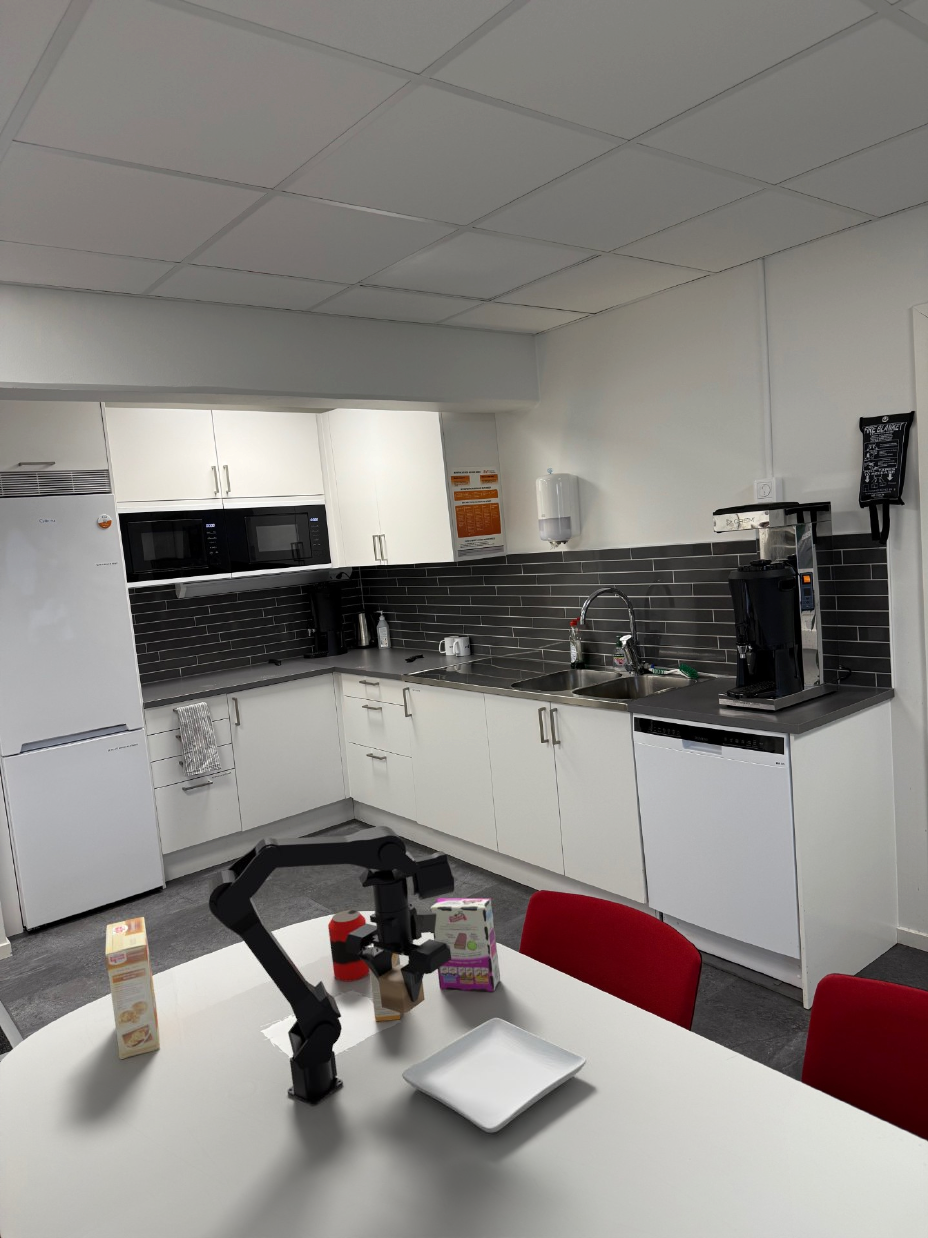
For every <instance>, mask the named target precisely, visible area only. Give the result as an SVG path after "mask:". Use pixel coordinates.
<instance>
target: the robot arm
mask: <svg viewBox="0 0 928 1238" xmlns="http://www.w3.org/2000/svg"><path fill="white" fill-rule="evenodd" d="M404 842H405V841H403V840H402V838H400V836H399V835H398V833H396V832H395V831H394V829H392V828H391V827H389V826H386V825H379V826H375V827H374V826H373V827H369V828H365V829H361V830H358V831H356V832H354V833H351V834H347V835H339V836H338V835H335V836H316V837H315V836H314V837H313V836H312V837H292V838H288V837H287V838H272V837H266V838H262V839H261V840H259V841H258V843H256V844H255V846H253V848H252V849H251V850H248V852H246V853H245V854H243V855H242V856H241V857H239V858H238V859H236V860H235V861H234V862H233V863H232V864H231V865H230V866H229V867H227V869H226V870H220V871H219V872H217V873H215V874H214V875H213V876H212V877H211V878H210V880H209V882H208V884H207V889H206V890H207V891H206V892H207V898H208V907H209V910H210V914H211V915H212V916H214V918H216V919H217V920H218V921H219V922H220V923H221V924H223V926H225V927H226V928H227V929H228V930H230V931H231V932H232V933H234V934H236V935H238V936H239V937H240V938H241V939H242V940H243V942H244V943H245V944H246V946H247V948H248V949H250V951H251V953H252V954H253V955H254V957H255V959H256V960H257V961H258V963H259V964H260V965H261V967H262V968H263V969H264V970H265V972H266V973H267V975H268V976H269V978H270V979H271V980H272V982H273V983H274V984H275V986H276V987H277V988H278V990H279V991H280V992H281V994H282V996H284V998H285V999H286V1001H287V1002H288V1003H289V1005H290V1008H291V1009H292V1012H293V1014H294V1017H295V1019H296V1020H295V1022H294V1023H293V1025H292V1026H291V1028H290V1029H289V1030H288V1032H287V1034H288V1039H289V1043H290V1046H291V1049H292V1057H290V1058H289V1065H290V1072H291V1073H290V1074H291V1080H292V1081H291V1082H292V1086H291V1087H290V1088H288V1089H287V1094H288V1095H290V1097H294V1098H296V1099H298V1100H301V1101H302V1102H305V1103H306V1104H309V1105H311V1106H316V1105H317V1104H318V1103H320V1102H322V1100H324V1099H326V1098H327V1097H328V1096H329V1095H330V1094H332V1093H333V1092H335V1091H336V1090H337V1089H338V1088H340V1087H341V1086H343V1084H344V1081H343V1079H340V1078H339V1077H337V1076H338V1071H337V1062H336V1053H335V1051H334V1050H333V1048H334V1046H335V1044H336V1043H337V1042H338V1040H339V1039H340V1037H341V1033H342V1024H341V1021H340V1018H341V1017H342V1014H341V1012H340V1009H339V1007H338V1004H337V1002H336V999H335V997H334V996H333V995H331V994H330V993H329V992H328V991H327V990H326V989H327V988H326V987H325V985H324V983H323V981H322V980H320V981H319V982H318V983H317V984H316V985H313V984H311V983H310V982H309V981H307V979H306V978H305V976H304V975H303V974H302V972H301V971H300V970H299V968H298V967H297V966H296V964H295V963H294V962H293V960H292V959H291V957H290V956H289V955H288V953H287V952H286V950H285V948H284V947H283V945H281V943H280V942H279V941H278V939H277V938H276V937H275V935H274V933H273V932H272V930H270V928H269V927H268V925H267V924H266V922H265V921H264V920H263V919H262V917H261V916H260V913H259V911H258V909H257V906H256V904H255V902H254V900H253V897H254V896H255V894H256V893H258V891H259V889H260V888H261V887H262V885H263V884H264V883H265V881H266V880H267V879H268V877H270V875H271V874H272V873H273V871H275V870H276V869H278V868H295V867H297V868H299V867H300V868H301V867H315V866H316V867H318V866H333V865H335V866H336V865H352V866H358V867H360V868H365V869H364V871H363V872H362V873H361V874H360V875H359V876H358V877H357V878H358V879H357V880H358V882H359V883H360V884H361V886H362V887H363V888H368V887H371V892H372V899H373V908H374V909H373V910H374V913H372V914H371V915H369V920H370V923H372V924H370V923H367V922H366V924H365V925H363V926H361V927H359V928H358V929H356V930H354V931H353V932H351V933H349V934H348V936H347V938H346V940H345V944H346V952H349V953H353V954H356V955H358V954H360V952H361V951H362V950H363V955H361V956H360V959H361V960H363V961H364V962H365V963H366V965H367V966H368V967H369V969H370V970H371V971H372V972H373V974H374V975H375V977H376V978H377V979H378V981H379V977H380V976H382V975H383V974H385V973H386V972H388V971H389V970H391V969H392V955H393V953H395V954H398V955H399V956H401V957H402V956H405V957H408V960H407V964H405V965H403V966H404V967H402V968H401V969H400V970H401V973H402V976H403V979H404V982H405V985H406V988H407V991H408V994H409V997H410V999H411V1001H412V1002H413V1003H414V1002H415V1001H417V1000H418V996H419V992H420V988H421V984H422V981H423V979H424V975H430V974H432V973H434V972H435V971H436V970H437V971H438V968H440V967H441V966H442V965H444V964H445V963H447V962H448V961H450V960H451V952H450V946H449V945H447V944H446V943H443V942H439V941H435V940H434V939H427V940H425V941H424V942H422V943H420V944H416V943H414V941H415V940H416V941H418V940H420V939H421V938H422V937H423V935H422V934H425V933H427V934H428V933H430V934H433V933H435V925H436V916H437V914H436V913H433V912H431V911H428V910H423V909H416V907H415V906H413V905H412V903H410V900H409V899H410V898H409V891H410V894H411V895H412V896H415V895H416V896H417V898H418V899H419V900H420V901H422V900H426V899H431V898H434V897H438V896H444V895H448V894H452V893H454V891H455V878H454V875H453V873H452V869H451V866H450V863H449V862H448V854H446V853H445V852H444V851H443V850H440V851H437V852H434V853H432V854H428V855H424V856H420V857H416V858H414V856H413V855H412V854H411V853H410V852H409V851H407V847H406V844H405V843H404ZM373 923H374V924H375V925H374V924H373ZM362 948H363V949H362Z"/></svg>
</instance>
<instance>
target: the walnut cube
mask: <svg viewBox="0 0 928 1238" xmlns="http://www.w3.org/2000/svg"><path fill="white" fill-rule="evenodd" d="M404 966H405V965H404V964H403V965H402V964H400V965H397V966H396V967H394V968H393V969H391V970H389V971H388V972H386V973H385V974H383V975H382V976H380V977H379V987H380V995H381V1003H382V1007H383V1008H386V1009H390V1010H393V1011H396V1012H399V1013H401V1014H402V1015H406V1014H407V1013H408V1012H410V1011H411V1010H413V1009H414V1008H415V1007H417V1006H418V1005H419V1004H421V1003H422V1002H424V1001H425V1000H426V999H425V992H424V991H425V990H424V982H423V980H422V984H421V988H420V992H419V996H418V1000H417V1001H415V1002H414V1003H413V1002H412V1001H411V999H410V997H409V994H408V991H407V988H406V985H405V982H404V979H403V976H402V973H401V970H400V969H401V968H402V967H404Z"/></svg>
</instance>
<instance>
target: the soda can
mask: <svg viewBox="0 0 928 1238" xmlns="http://www.w3.org/2000/svg"><path fill="white" fill-rule="evenodd" d="M366 923H367V922H366V917H365V916H364V915H363V914H362V913H360V912H359V911H358V910H354V909H350V910H349V909H348V910H347V909H346V910H343V911H339V912H337V913H335V914H333V916H332V918H331V919H330V921H329V923H328V925H327V927H328V935H329V943H330V951H331V961H332V968H333V976H334V977H335V978H336V979H337V980H339V981H341V982H354V981H357V980H361V979H363V978H366V977H367V976H368V975H369V974H370V971H369V967H368V966H367V965H366V963H365V962H364V961H363V960H361V959H360V956H361V955H363V950H362V951H361V952H360V954H358V955H356V954H353V953H349V952H346V944H345V940H346V938H347V936H348V934H349V933H351V932H353V931H354V930H356V929H358V928H359V927H361V926H363V925H365V924H366ZM362 949H363V948H362Z"/></svg>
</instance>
